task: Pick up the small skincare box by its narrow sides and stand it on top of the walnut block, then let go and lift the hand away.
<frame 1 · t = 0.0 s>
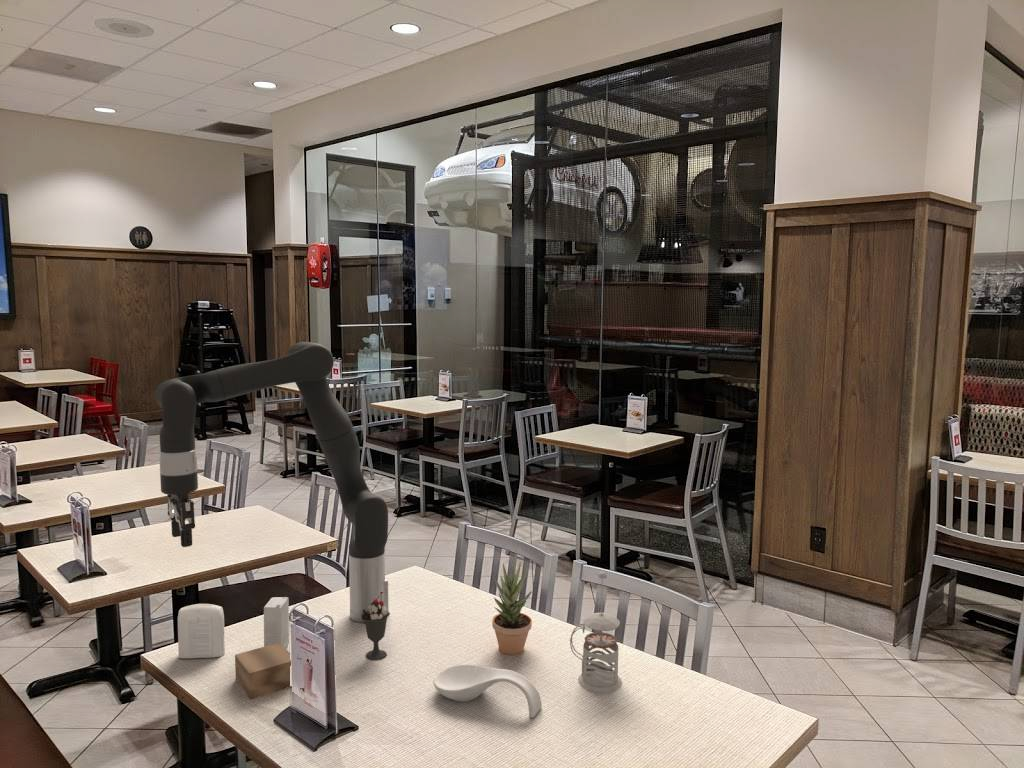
hand: (182, 541, 164), 29 cm above the table, tool pointing down, fingers open, 8 cm apart
walnut block: (266, 683, 161), on the table
spoon rest: (486, 701, 155), on the table
sundae: (376, 656, 173), on the table
french press: (595, 681, 163), on the table
skincare box: (277, 651, 175), on the table
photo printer: (202, 656, 173), on the table
potted plant: (511, 649, 177), on the table
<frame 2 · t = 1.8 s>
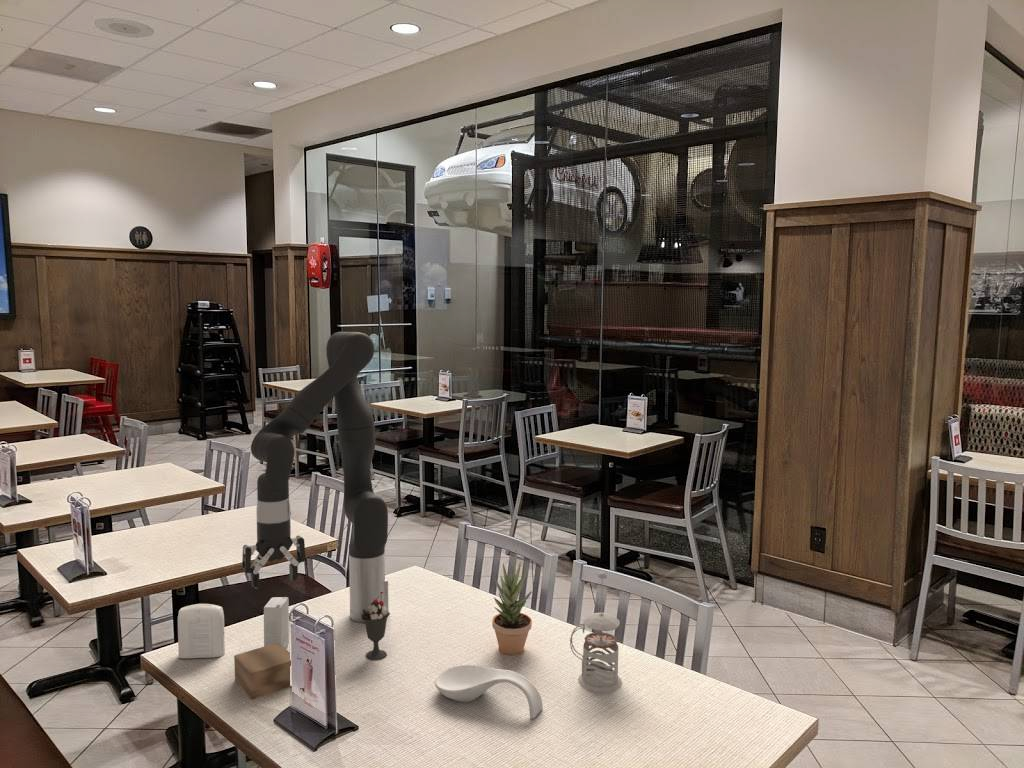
hand: (274, 584, 173), 16 cm above the table, tool pointing down, fingers open, 8 cm apart
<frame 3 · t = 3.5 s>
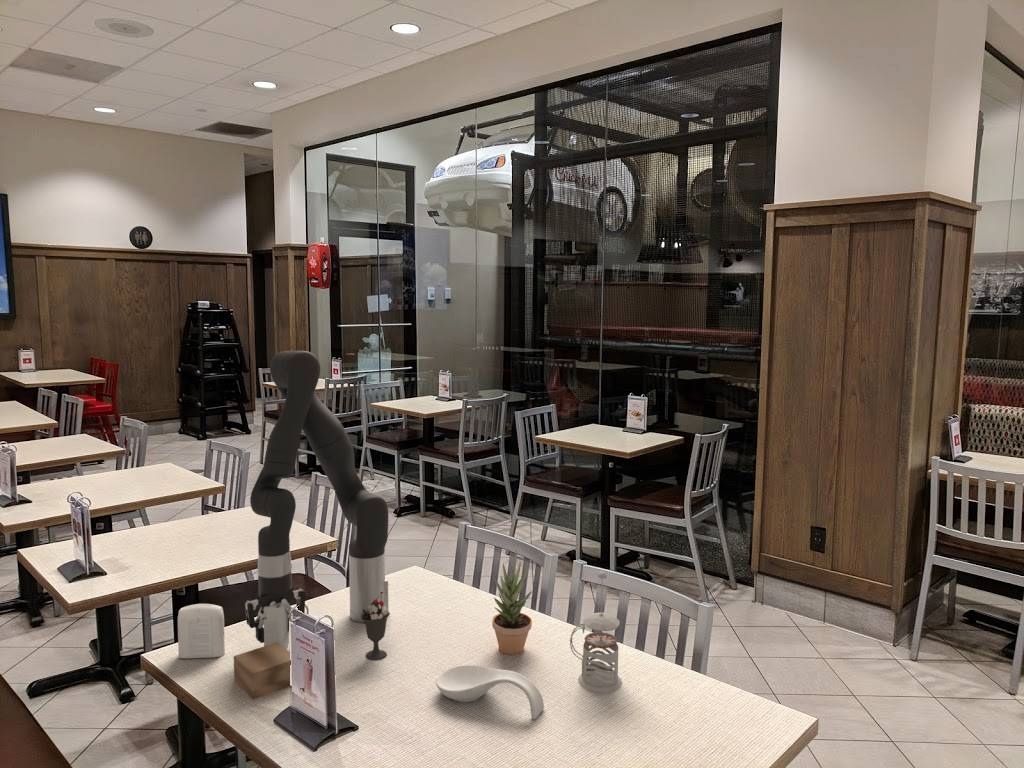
hand: (276, 637, 175), 3 cm above the table, tool pointing down, fingers closed on skincare box, 7 cm apart
skincare box: (277, 651, 175), on the table, touching gripper
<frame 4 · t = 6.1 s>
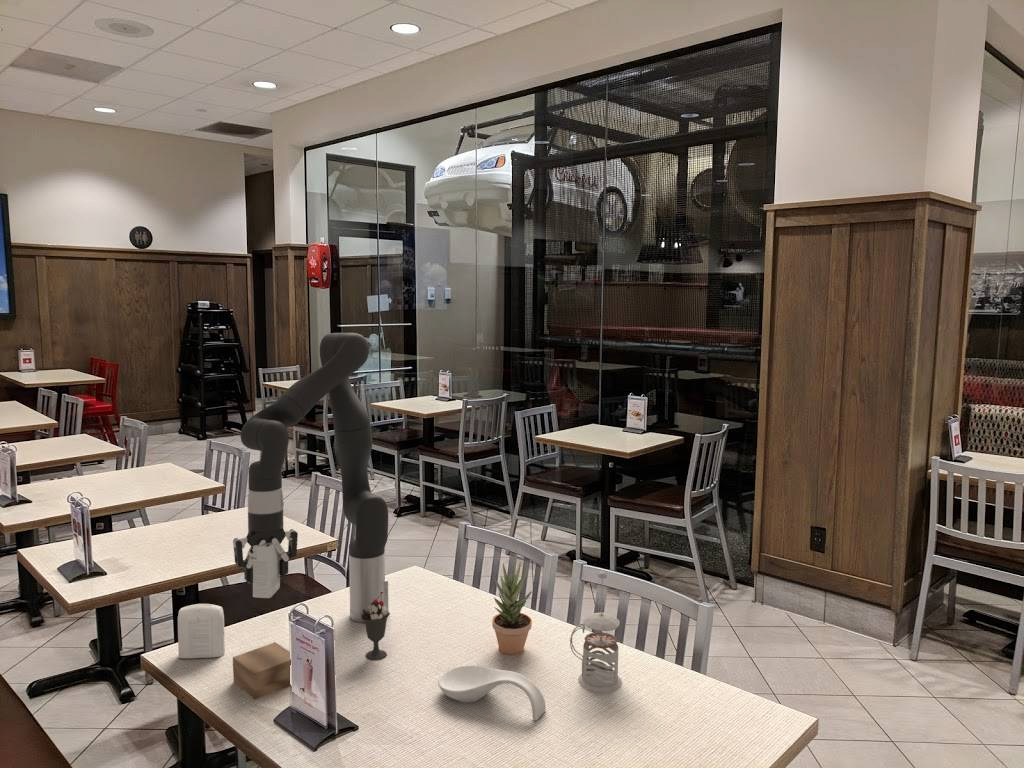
hand: (266, 579, 166), 20 cm above the table, tool pointing down, fingers closed on skincare box, 6 cm apart
skincare box: (266, 594, 166), point 17 cm above the table, touching gripper
when the fingers open (11 cm above the table, at t = 8.9 s): skincare box drops 2 cm, resting on walnut block.
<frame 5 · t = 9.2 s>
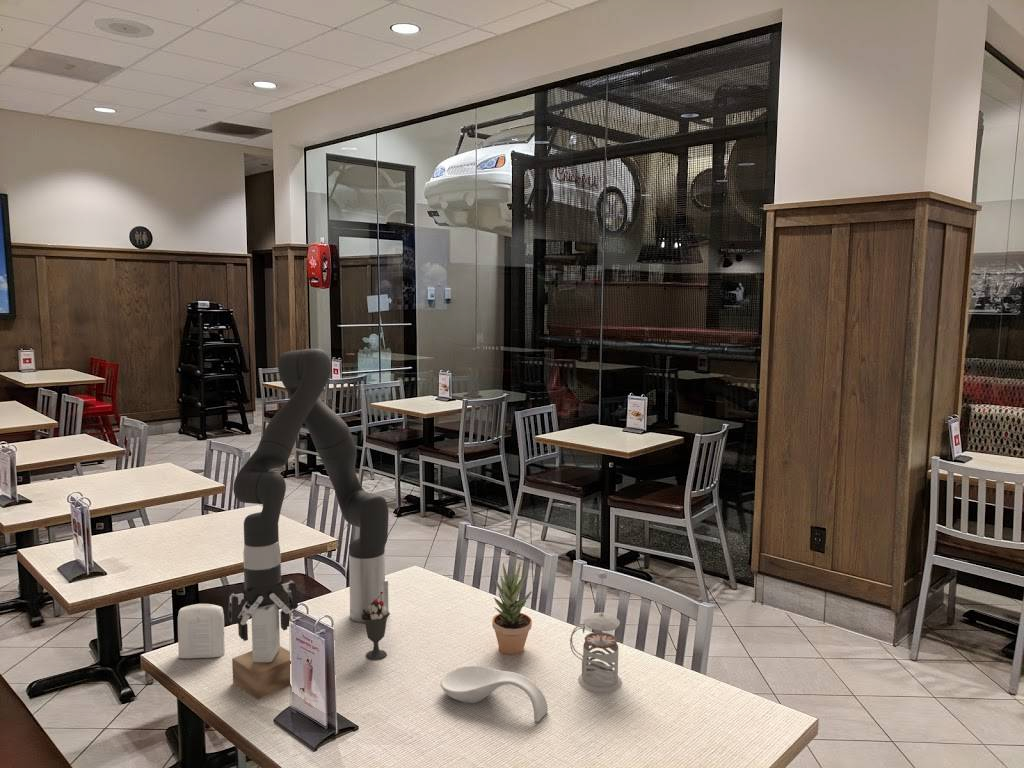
hand: (264, 634, 159), 11 cm above the table, tool pointing down, fingers open, 8 cm apart
walnut block: (266, 683, 161), on the table, touching skincare box
skincare box: (267, 657, 160), point 6 cm above the table, touching walnut block
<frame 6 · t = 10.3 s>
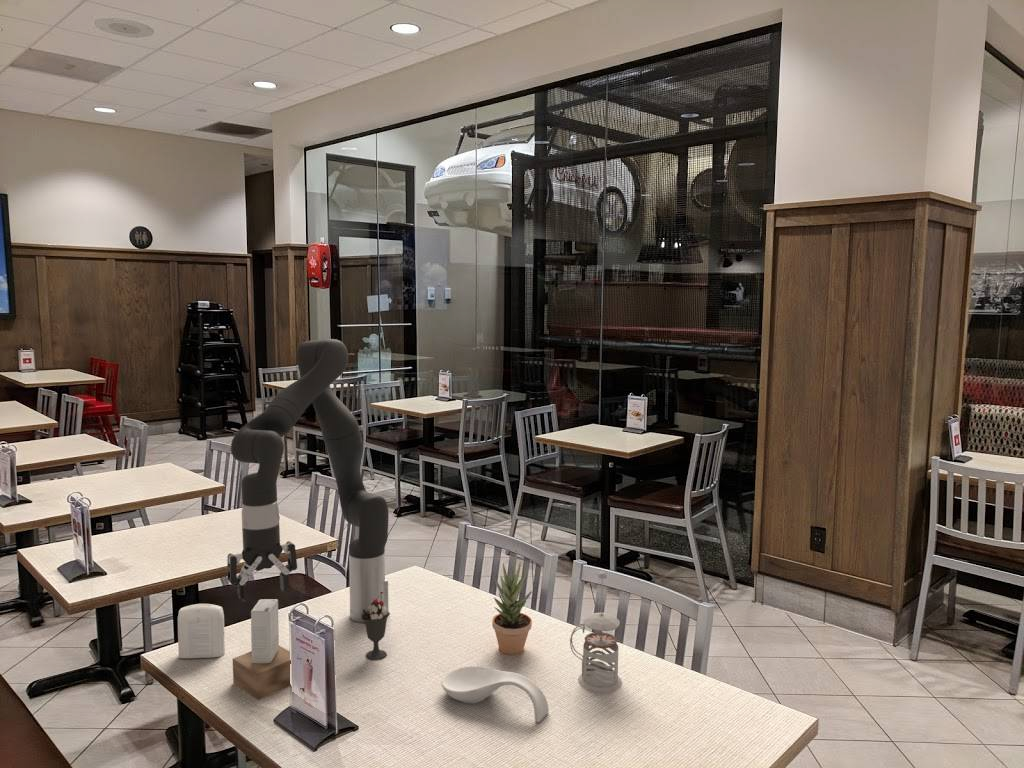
hand: (263, 595, 158), 20 cm above the table, tool pointing down, fingers open, 8 cm apart
walnut block: (266, 683, 161), on the table
skincare box: (266, 658, 160), point 6 cm above the table
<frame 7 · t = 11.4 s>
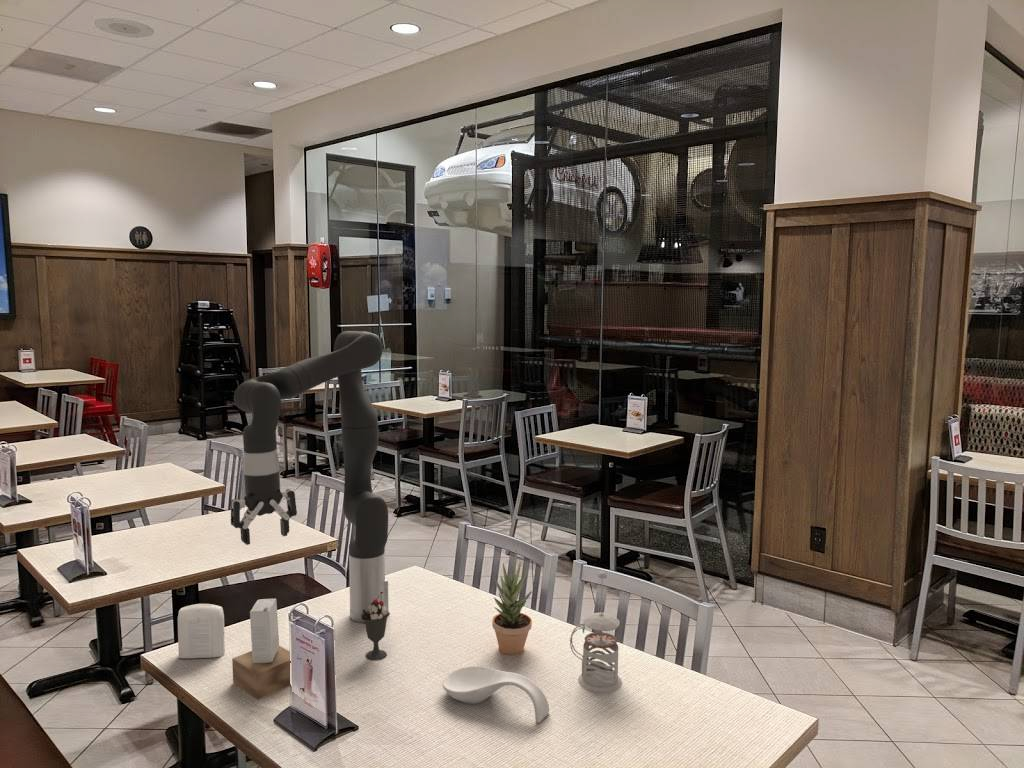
hand: (265, 539, 167), 29 cm above the table, tool pointing down, fingers open, 8 cm apart
walnut block: (266, 683, 161), on the table, touching skincare box
skincare box: (266, 657, 160), point 6 cm above the table, touching walnut block
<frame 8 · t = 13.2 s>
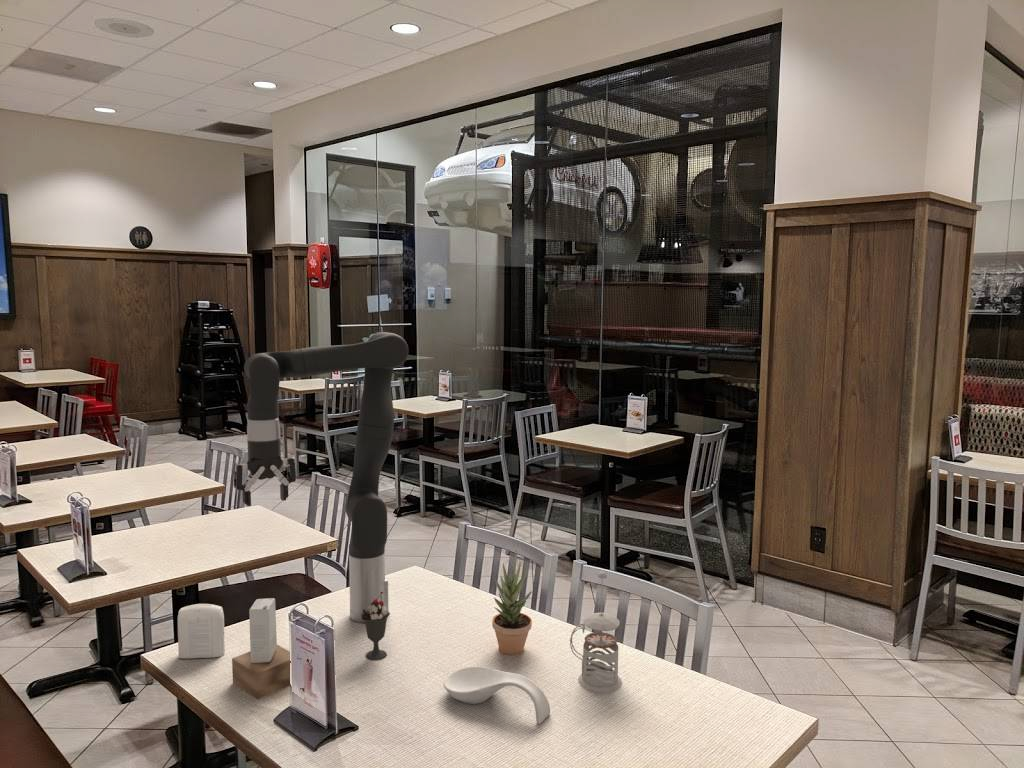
hand: (265, 502, 178), 34 cm above the table, tool pointing down, fingers open, 8 cm apart
walnut block: (266, 683, 161), on the table
skincare box: (264, 657, 160), point 6 cm above the table
at the end: skincare box inside the target area on the walnut block (0.1 cm from its centre), point 6.1 cm above the walnut block's base; skincare box tilted 5°; the gripper is holding nothing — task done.
